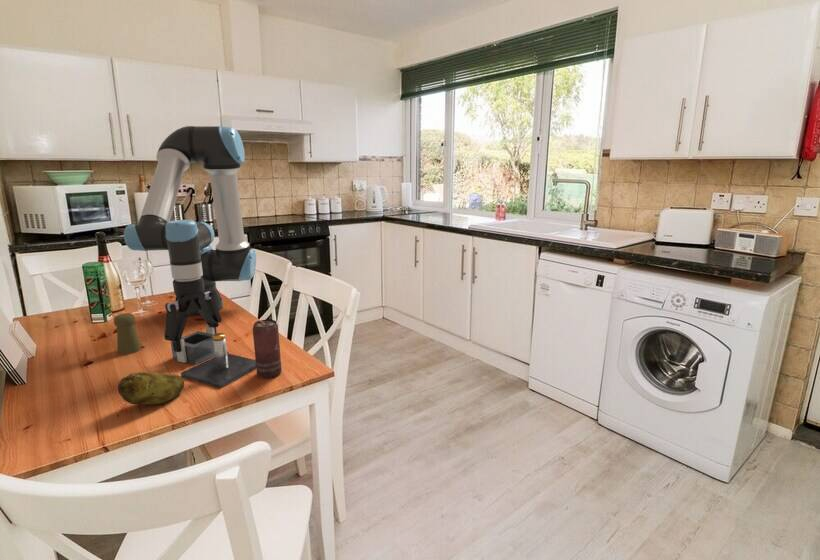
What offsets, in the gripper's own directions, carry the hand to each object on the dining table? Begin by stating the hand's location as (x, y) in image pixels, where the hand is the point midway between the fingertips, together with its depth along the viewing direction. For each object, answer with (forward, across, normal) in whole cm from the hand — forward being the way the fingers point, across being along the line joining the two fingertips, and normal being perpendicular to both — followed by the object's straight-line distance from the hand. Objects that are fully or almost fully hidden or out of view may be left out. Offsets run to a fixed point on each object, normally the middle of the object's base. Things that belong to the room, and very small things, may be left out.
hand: (197, 354), depth 125 cm
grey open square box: (0, 0, 0) cm, 0 cm away
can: (0, 0, +26) cm, 26 cm away
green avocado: (0, +22, +13) cm, 25 cm away
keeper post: (0, +4, +14) cm, 15 cm away
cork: (0, +6, -21) cm, 22 cm away
